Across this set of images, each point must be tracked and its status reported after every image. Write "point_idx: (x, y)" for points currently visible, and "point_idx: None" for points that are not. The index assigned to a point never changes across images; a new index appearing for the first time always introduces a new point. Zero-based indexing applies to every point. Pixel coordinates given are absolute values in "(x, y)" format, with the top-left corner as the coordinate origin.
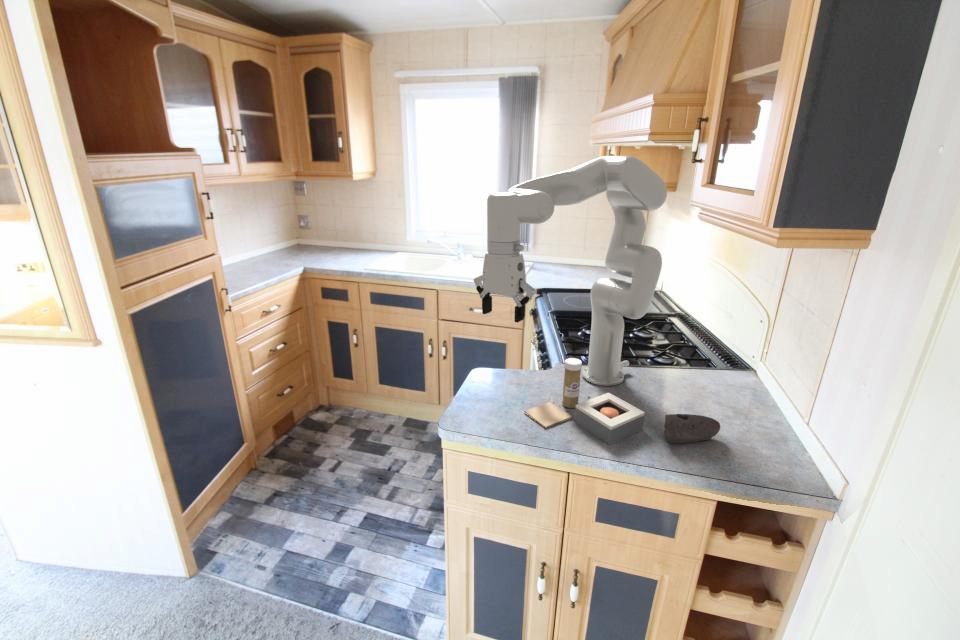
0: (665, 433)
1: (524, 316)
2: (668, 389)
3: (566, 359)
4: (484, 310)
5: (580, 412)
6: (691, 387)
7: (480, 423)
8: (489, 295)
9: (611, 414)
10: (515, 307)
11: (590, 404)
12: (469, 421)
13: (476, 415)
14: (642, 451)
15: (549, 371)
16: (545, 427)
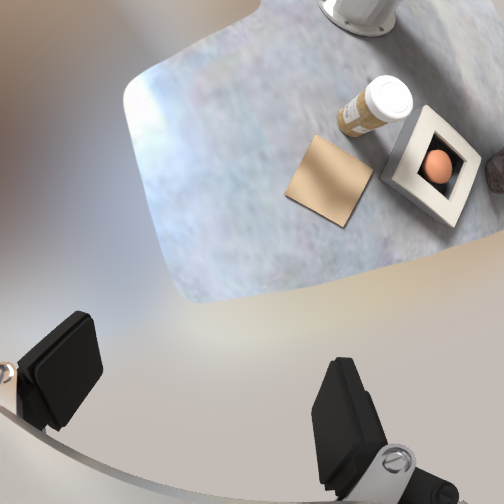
0: (495, 188)
1: (366, 392)
2: (450, 30)
3: (374, 92)
4: (92, 384)
5: (400, 186)
6: (465, 23)
7: (228, 268)
8: (29, 396)
9: (444, 173)
10: (327, 486)
11: (415, 165)
12: (207, 272)
13: (206, 249)
14: (467, 215)
15: (254, 19)
16: (342, 226)
